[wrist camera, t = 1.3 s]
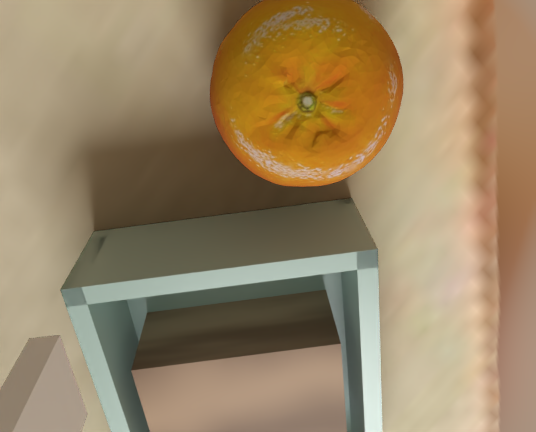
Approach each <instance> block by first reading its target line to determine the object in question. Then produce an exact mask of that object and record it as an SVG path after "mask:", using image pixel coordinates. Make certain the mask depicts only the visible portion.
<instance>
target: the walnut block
mask: <svg viewBox="0 0 536 432" xmlns="http://www.w3.org/2000/svg"><path fill="white" fill-rule="evenodd" d="M131 372H132V375H133V378H134V382H135V385H136V388H137V391H138V395H139V398H140V401H141V404H142V407H143V411H144V414H145V417H146V420H147V424H148V427H149V430H150V432H347V425H346V410H345V396H344V381H343V367H342V352H341V342H340V339H339V335H338V331H337V328H336V324H335V321H334V317H333V313H332V310H331V306H330V303H329V299H328V295H327V292H326V290H319V291H311V292H304V293H296V294H288V295H280V296H272V297H265V298H257V299H249V300H241V301H233V302H226V303H218V304H210V305H202V306H194V307H187V308H179V309H171V310H163V311H155V312H148V313H147V315H146V318H145V322H144V326H143V329H142V333H141V336H140V340H139V344H138V347H137V351H136V354H135V358H134V362H133V365H132V369H131Z"/></svg>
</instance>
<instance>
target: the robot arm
mask: <svg viewBox="0 0 536 432" xmlns="http://www.w3.org/2000/svg"><path fill="white" fill-rule="evenodd" d="M86 417H87V411H86V408H85V405H84V402H83V399H82V397H81V394H80V391H79V388H78V385H77V382H76V380H75V377H74V374H73V371H72V368H71V365H70V362H69V360H68V357H67V354H66V351H65V348H64V345H63V343H62V340H61V337H60V335H56V336H47V337H37V338H29V340H28V342H27V343H26V345H25V347H24V349H23V350H22V352H21V354H20V356H19V358H18V359H17V361H16V363H15V365H14V366H13V368H12V370H11V372H10V373H9V375H8V377H7V379H6V380H5V382H4V384H3V386H2V387H1V389H0V432H82V429H83V426H84V423H85V420H86Z"/></svg>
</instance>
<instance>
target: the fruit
mask: <svg viewBox="0 0 536 432" xmlns="http://www.w3.org/2000/svg"><path fill="white" fill-rule="evenodd" d="M402 95H403V73H402V67H401V63H400V59H399V56H398V53H397V50H396V48H395V46H394V44H393V42H392V40H391V38H390V37H389V35H388V33H387V32H386V31H385V29H384V28H383V27H382V25H381V24H380V23H379V22H378V21H377V20H376V19H375V18H374V17H373V16H372V15H371V14H370V13H369V12H368V11H367V10H366V9H364V8H363V7H362V6H361V5H359V4H358V3H356V2H354V1H352V0H263V1H261V2H260V3H258V4H257V5H255V6H254V7H252V8H251V9H250V10H249V11H247V12H246V13H245V14H244V15H243V16H242V17H241V19H240V20H238V21H237V23H236V24H235V26H234V27H233V28H232V29H231V31H230V32H229V33H228V35H227V36H226V37H225V38H224V40H223V42H222V43H221V45H220V47H219V49H218V52H217V55H216V58H215V61H214V66H213V72H212V78H211V85H210V103H211V109H212V113H213V117H214V120H215V124H216V126H217V129H218V131H219V133H220V134H221V136H222V138H223V140H224V142H225V143H226V145H227V146H228V147H229V149H230V150H231V152H232V153H233V154H234V156H235V157H236V158H237V159H238V160H239V161H240V162H241V163H242V164H243V165H244V166H245V167H246V168H248V169H249V170H250V171H251V172H253V173H254V174H256V175H258V176H259V177H261V178H263V179H265V180H268V181H270V182H272V183H275V184H279V185H283V186H301V187H305V186H322V185H328V184H331V183H335V182H338V181H341V180H343V179H345V178H347V177H349V176H351V175H352V174H354V173H356V172H357V171H359V170H360V169H362V168H363V167H364V166H365V165H366V164H367V163H368V162H370V161H371V160H372V159H373V158H374V157H375V156H376V155H377V153H378V152H379V151H380V150H381V148H382V147H383V146H384V144H385V143H386V141H387V139H388V138H389V136H390V134H391V132H392V129H393V127H394V125H395V122H396V119H397V116H398V112H399V109H400V105H401V100H402Z"/></svg>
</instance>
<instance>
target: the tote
mask: <svg viewBox="0 0 536 432" xmlns="http://www.w3.org/2000/svg"><path fill="white" fill-rule="evenodd" d="M319 290H326V292H327V295H328V299H329V303H330V306H331V310H332V313H333V317H334V321H335V324H336V328H337V331H338V335H339V339H340V342H341V352H342V367H343V381H344V396H345V410H346V425H347V432H382V395H381V356H380V318H379V279H378V249H377V247H376V245H375V243H374V241H373V239H372V237H371V235H370V233H369V231H368V229H367V227H366V225H365V223H364V221H363V219H362V217H361V215H360V213H359V211H358V209H357V207H356V205H355V204H354V202H353V200H352V198H349V199H341V200H333V201H326V202H318V203H310V204H302V205H295V206H287V207H279V208H271V209H264V210H256V211H248V212H241V213H233V214H225V215H217V216H210V217H202V218H194V219H186V220H179V221H171V222H163V223H155V224H148V225H140V226H132V227H124V228H117V229H109V230H101V231H94V232H93V234H92V236H91V237H90V239H89V241H88V243H87V244H86V246H85V248H84V250H83V251H82V253H81V255H80V257H79V258H78V260H77V262H76V264H75V265H74V267H73V269H72V270H71V272H70V274H69V276H68V277H67V279H66V281H65V283H64V284H63V286H62V288H61V293H62V296H63V299H64V301H65V304H66V307H67V310H68V313H69V315H70V318H71V321H72V324H73V327H74V329H75V332H76V335H77V338H78V341H79V343H80V346H81V349H82V352H83V355H84V357H85V360H86V363H87V366H88V369H89V371H90V374H91V377H92V380H93V382H94V385H95V388H96V391H97V394H98V396H99V399H100V402H101V405H102V408H103V410H104V413H105V416H106V419H107V422H108V424H109V427H110V430H111V432H150V430H149V427H148V424H147V420H146V417H145V414H144V411H143V407H142V404H141V401H140V398H139V395H138V391H137V388H136V385H135V382H134V378H133V375H132V372H131V369H132V365H133V362H134V358H135V354H136V351H137V347H138V344H139V340H140V336H141V333H142V329H143V326H144V322H145V318H146V315H147V313H148V312H155V311H163V310H171V309H179V308H187V307H194V306H202V305H210V304H218V303H226V302H233V301H241V300H249V299H257V298H265V297H272V296H280V295H288V294H296V293H304V292H311V291H319Z"/></svg>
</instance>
